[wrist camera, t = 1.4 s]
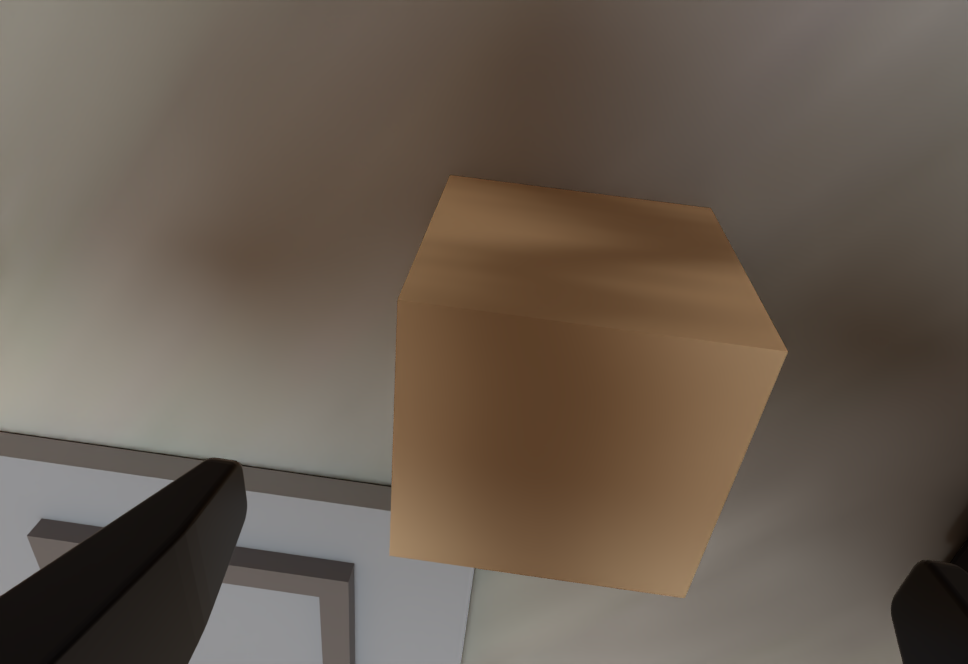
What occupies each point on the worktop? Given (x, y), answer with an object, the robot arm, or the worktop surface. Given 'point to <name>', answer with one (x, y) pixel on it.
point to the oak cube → (573, 385)
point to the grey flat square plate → (251, 557)
